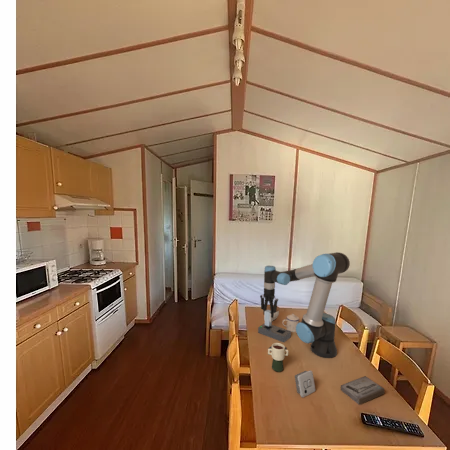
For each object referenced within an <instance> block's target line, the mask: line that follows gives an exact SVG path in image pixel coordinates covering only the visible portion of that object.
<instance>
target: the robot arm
mask: <svg viewBox="0 0 450 450" xmlns="http://www.w3.org/2000/svg"><path fill="white" fill-rule="evenodd" d="M349 268H350V259H349V257H348V256H347V255H346V254H344V253H342V252H331V253H322V254H320V255H318V256H316V257H315V258H314V259H313V261H312V263H311V264H307V265H305V266H301V267H298V268H297V267H296V268H295V269H294V268H293V269H290V270H283V271H278V270H276V269H277V268H276V266H275V265H266V266H264V271H263V275H264V277H263V278H264V279H263V294H261V295H260V296H259V297H260V310H263V311H264V312H262V314H263V315H264V316H263V320H264V321H265V311H266V310H267V305H270V310H271V313H270V322H273V320H272V318H273V317H274V313H275V312H276V311H277V306H278V301H279V298H276V296H275V294H276V293H275V292H276V291H275V290H276V289H275V288H276V283H278V284H279V285H283V286H287V285H288V284H290V283H291V282H296V281H300V280H303V279H309V278H311V277H315V280H314V284H313V289H312V291H311V292H312V293H311V296H310V300H309V304H308V307H307V310H306V313H303V315H302V318H301V321H299V323H298V324H297V325H296V332H295V333H296V334H297V337H298V338H299V339H300V341H302V342H303V343H305V344H310V351H311V353H313V354H314V355H316V356H318V357H320V358H324V359H325V358H326V359H330V358H331V359H333V358H335V357H336V356H337V355H338V349H337V346H336V342H335V334H336V333H335V332H336V318H335V316H333V315H332V314H329V313H327V312H325V310H326V306H327V302H328V299H329V295H330V292H331V288H332V285H333V284H334V283H337V279H338V275H339V274H344V273H345V272H347V271H348V270H349ZM268 303H269V304H268ZM273 305H274V307H273Z"/></svg>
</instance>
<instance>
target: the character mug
mask: <svg viewBox="0 0 450 450" xmlns="http://www.w3.org/2000/svg"><path fill="white" fill-rule="evenodd" d="M271 346H272V349H269V348H267V355H270V356H271V359H272V363H271V368H272V370H273V371H275V372H276V373H277V372H278V373H280V372H282V371H283V370H284V359H285V356H286V357H288V355H289V350H288V349H286V350H285V347H286V346H285V344H283V343H281V342H274V343H272V344H271ZM271 351H272V352H271Z"/></svg>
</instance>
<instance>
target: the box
mask: <svg viewBox="0 0 450 450" xmlns="http://www.w3.org/2000/svg"><path fill="white" fill-rule="evenodd" d="M340 391H341V392H342V393H344V394H345V395H347V397H349V398H350V399H351V400H352V401H354V402H355V403H356V404H357V405H359V406H360V405H361V406H362V405H363V404H364V403H367V402H368V401H372V400H373V399H376V398H377V397H380V396H382V395H384V394H386V392H385V388H384V387H383V386H381V385H379V384H378V383H377V382H375V381H373V380H372V379H371V378H369V377H368V376H366V375H364V376H361V377H359V378H356V379H354V380H351V381H348V382H346V383H343V384H341V385H340Z"/></svg>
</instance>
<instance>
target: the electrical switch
mask: <svg viewBox="0 0 450 450" xmlns="http://www.w3.org/2000/svg"><path fill="white" fill-rule="evenodd" d="M313 373H314V372H313V371H312V370H308V371H307V370H303V371H302V372H299V373H296V374H294V380H295V386H296V392H297V393H298V394H299V395H300V397H301V398H305V397H307V396H309V395H311V394H312V393H315V392H316V384H315V379H314V374H313Z"/></svg>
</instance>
